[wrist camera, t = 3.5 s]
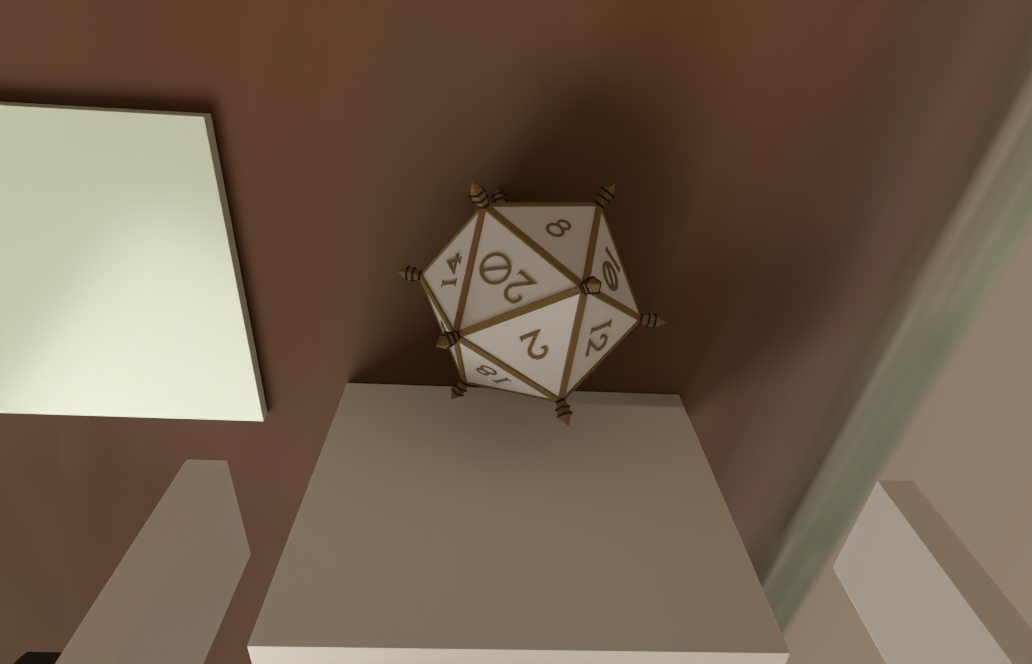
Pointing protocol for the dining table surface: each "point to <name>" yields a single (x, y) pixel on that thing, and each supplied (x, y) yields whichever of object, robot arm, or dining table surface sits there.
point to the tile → (120, 268)
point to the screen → (513, 538)
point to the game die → (531, 296)
